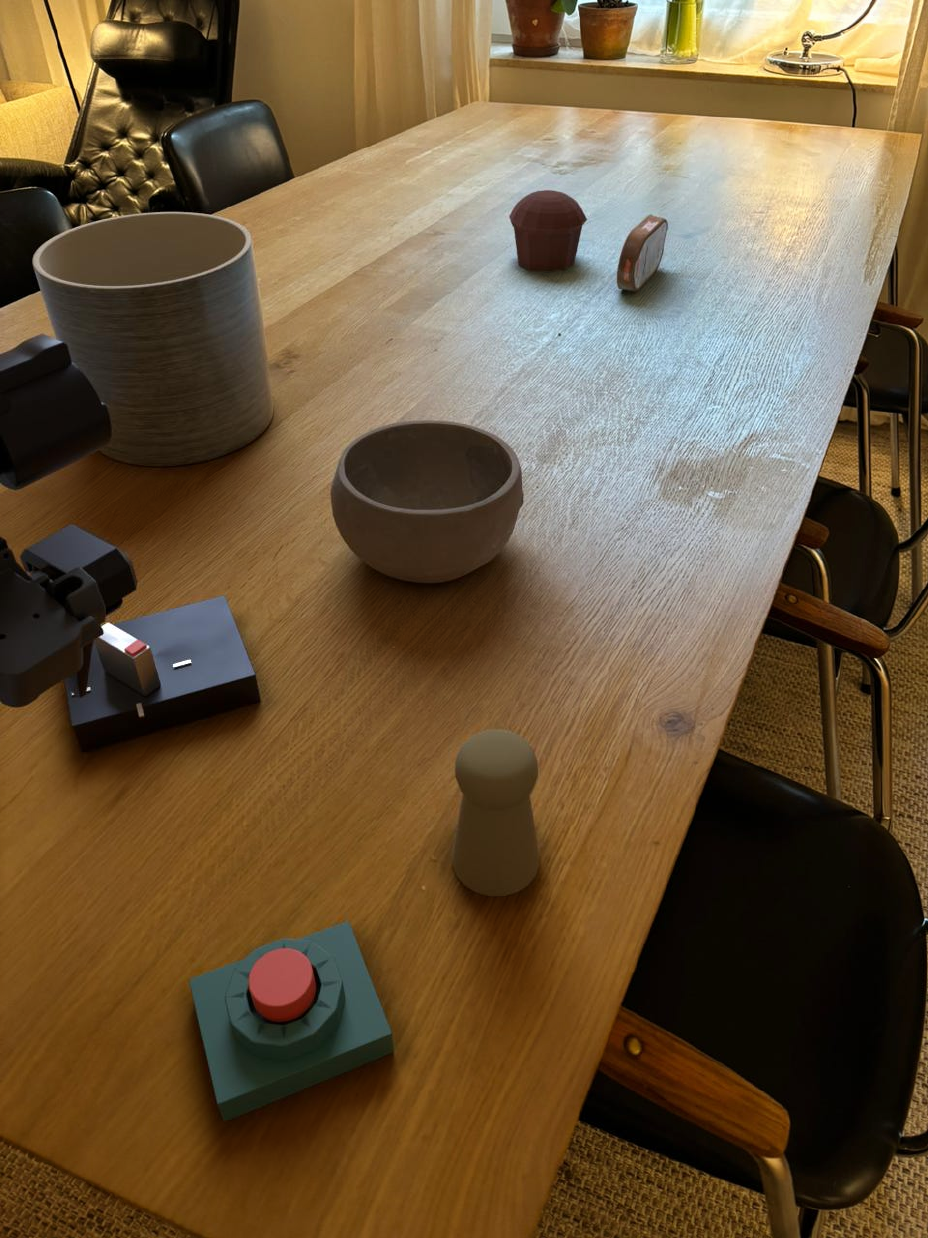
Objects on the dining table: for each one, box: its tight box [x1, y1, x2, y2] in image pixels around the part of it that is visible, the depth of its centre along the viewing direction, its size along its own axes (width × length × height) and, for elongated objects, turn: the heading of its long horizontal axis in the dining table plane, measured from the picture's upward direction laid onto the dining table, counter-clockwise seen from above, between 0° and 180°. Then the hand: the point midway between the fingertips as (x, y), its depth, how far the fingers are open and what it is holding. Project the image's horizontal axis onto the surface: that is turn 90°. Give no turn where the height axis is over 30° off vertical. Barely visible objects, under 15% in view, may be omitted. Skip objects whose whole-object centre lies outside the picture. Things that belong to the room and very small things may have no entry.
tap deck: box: [63, 595, 262, 754], centre depth 80 cm, size 14×12×3 cm
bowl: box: [330, 419, 525, 584], centre depth 92 cm, size 17×18×10 cm
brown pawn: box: [451, 728, 541, 897], centre depth 64 cm, size 6×6×11 cm
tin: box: [616, 214, 669, 292], centre depth 143 cm, size 15×3×8 cm, turn 153°
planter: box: [32, 211, 274, 467], centre depth 109 cm, size 22×22×20 cm
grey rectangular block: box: [94, 622, 161, 696], centre depth 76 cm, size 5×2×4 cm, turn 54°
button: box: [248, 948, 316, 1022], centre depth 56 cm, size 4×4×2 cm
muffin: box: [508, 189, 588, 273], centre depth 149 cm, size 12×11×10 cm
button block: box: [188, 920, 395, 1123], centre depth 58 cm, size 10×8×4 cm
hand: (16, 736), depth 61 cm, fingers open, 9 cm apart
